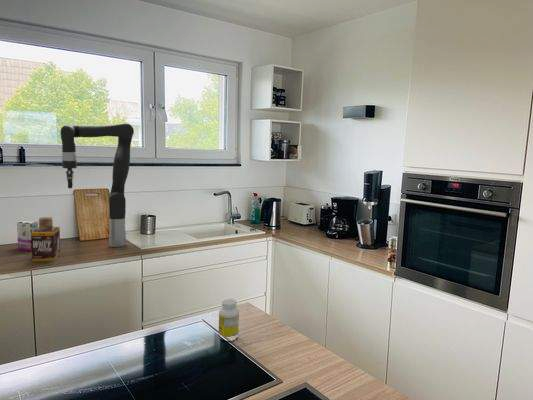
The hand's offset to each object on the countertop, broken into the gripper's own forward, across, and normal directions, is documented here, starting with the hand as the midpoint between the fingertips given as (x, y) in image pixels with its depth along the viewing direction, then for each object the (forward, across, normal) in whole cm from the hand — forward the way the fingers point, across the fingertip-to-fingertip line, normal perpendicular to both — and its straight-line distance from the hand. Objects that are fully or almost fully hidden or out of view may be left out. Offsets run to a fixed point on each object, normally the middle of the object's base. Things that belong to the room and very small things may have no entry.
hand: (70, 187), depth 234 cm
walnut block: (+20, -20, +12) cm, 31 cm away
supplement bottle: (+37, -141, -50) cm, 154 cm away
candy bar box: (+36, 0, +23) cm, 42 cm away
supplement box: (+36, -21, +12) cm, 43 cm away
